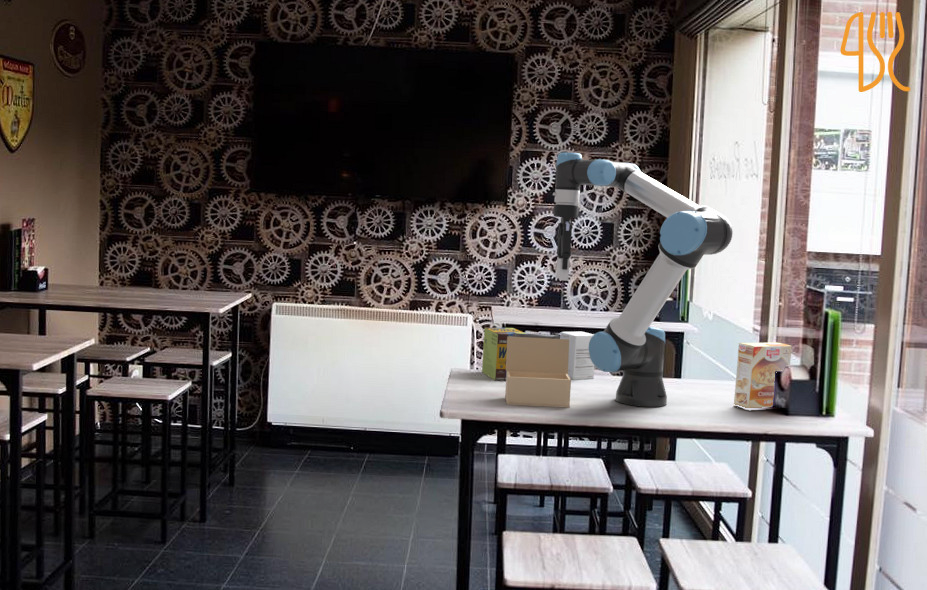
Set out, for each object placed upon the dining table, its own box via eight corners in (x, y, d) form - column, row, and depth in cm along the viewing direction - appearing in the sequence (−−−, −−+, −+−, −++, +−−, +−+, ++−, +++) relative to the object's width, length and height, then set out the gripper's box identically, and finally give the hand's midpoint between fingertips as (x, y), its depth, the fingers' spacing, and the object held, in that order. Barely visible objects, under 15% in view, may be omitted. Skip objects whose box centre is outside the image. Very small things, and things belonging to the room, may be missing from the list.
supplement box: (557, 375, 334) (560, 331, 333) (579, 373, 339) (581, 330, 337) (572, 379, 326) (575, 335, 325) (594, 378, 331) (597, 334, 329)
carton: (565, 400, 292) (567, 373, 291) (569, 407, 282) (571, 379, 281) (505, 397, 291) (506, 370, 291) (506, 404, 282) (508, 376, 281)
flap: (567, 373, 291) (564, 373, 300) (569, 335, 292) (565, 335, 301) (505, 370, 291) (504, 370, 300) (507, 332, 292) (505, 332, 301)
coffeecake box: (748, 411, 289) (754, 346, 287) (732, 406, 295) (737, 342, 293) (787, 409, 295) (792, 345, 293) (770, 404, 302) (775, 341, 300)
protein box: (494, 381, 318) (497, 333, 316) (481, 372, 332) (483, 326, 331) (525, 381, 320) (528, 333, 319) (510, 372, 335) (513, 327, 334)
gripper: (550, 203, 307) (546, 275, 309) (557, 203, 287) (553, 281, 289) (574, 204, 307) (570, 277, 309) (583, 205, 287) (578, 282, 289)
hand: (562, 279), depth 299 cm, fingers open, 8 cm apart
